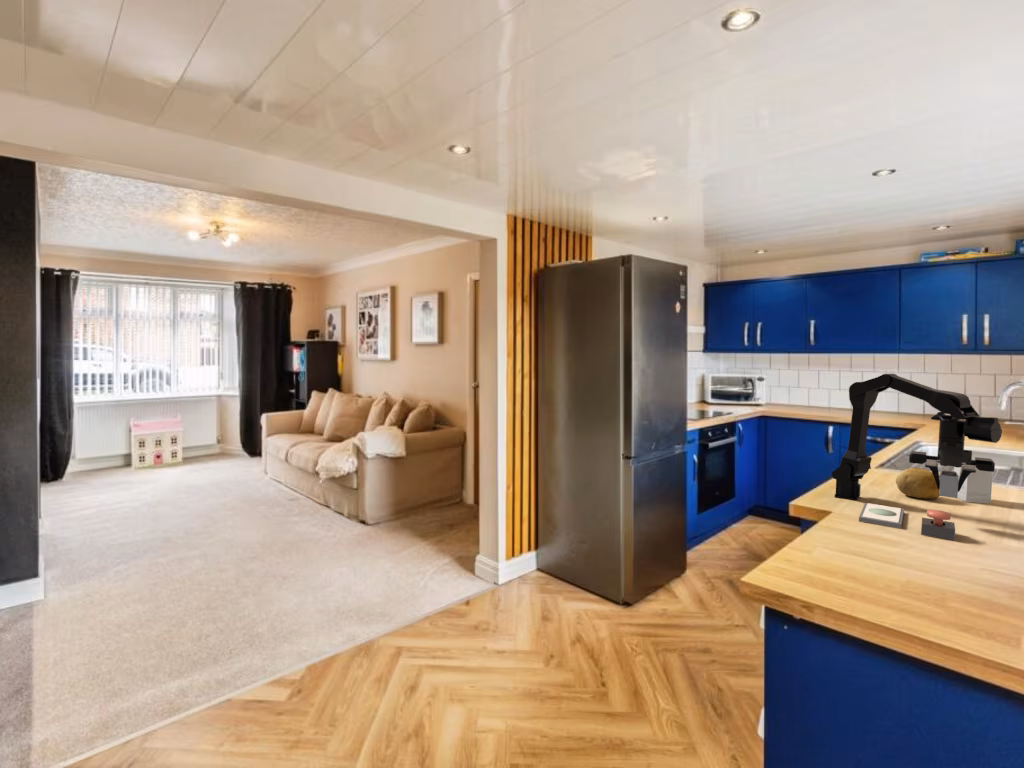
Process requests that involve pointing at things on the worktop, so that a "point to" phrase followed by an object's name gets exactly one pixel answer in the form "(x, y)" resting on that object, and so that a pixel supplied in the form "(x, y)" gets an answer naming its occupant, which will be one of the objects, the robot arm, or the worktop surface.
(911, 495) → the potato
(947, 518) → the button
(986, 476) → the supplement box
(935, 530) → the button housing
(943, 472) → the grey rectangular block
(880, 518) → the drawing board
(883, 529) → the worktop surface
